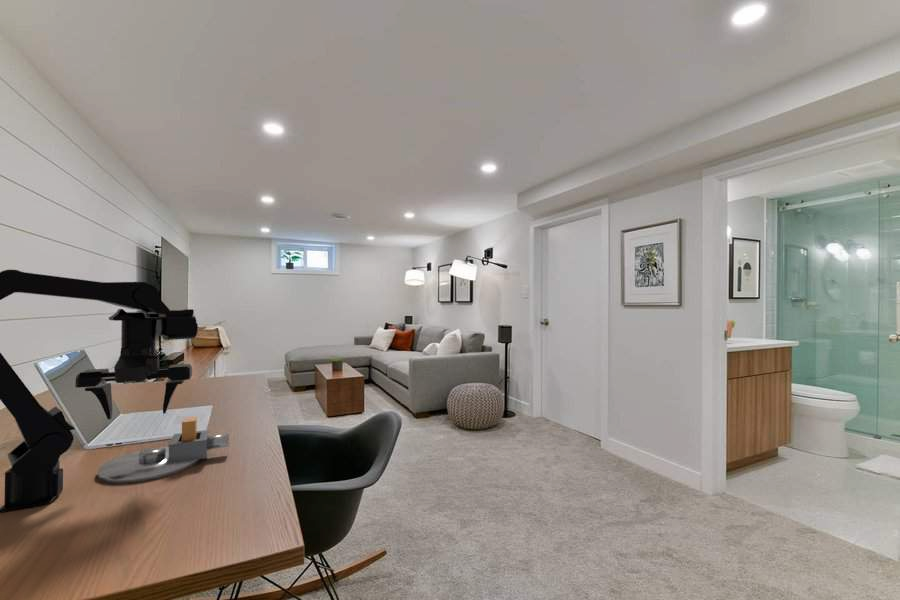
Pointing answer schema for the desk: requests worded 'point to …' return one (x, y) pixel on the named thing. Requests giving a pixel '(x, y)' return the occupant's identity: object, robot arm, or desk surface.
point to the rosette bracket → (161, 459)
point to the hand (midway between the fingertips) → (137, 416)
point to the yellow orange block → (189, 428)
